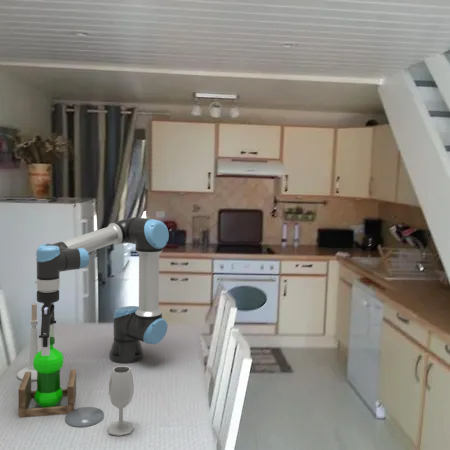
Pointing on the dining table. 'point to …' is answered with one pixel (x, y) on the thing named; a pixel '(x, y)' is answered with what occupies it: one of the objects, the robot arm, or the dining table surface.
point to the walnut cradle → (24, 400)
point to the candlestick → (32, 346)
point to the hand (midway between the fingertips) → (47, 348)
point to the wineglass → (121, 398)
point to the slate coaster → (84, 417)
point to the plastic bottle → (48, 377)
